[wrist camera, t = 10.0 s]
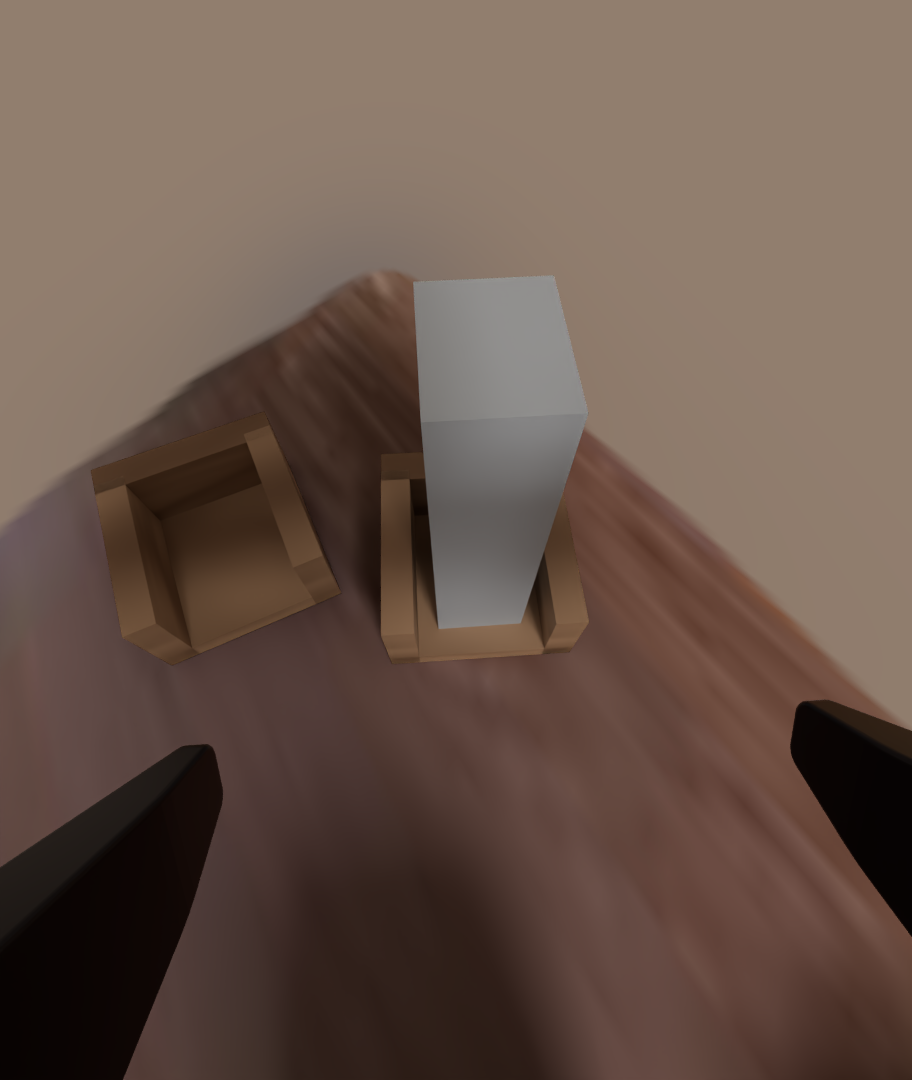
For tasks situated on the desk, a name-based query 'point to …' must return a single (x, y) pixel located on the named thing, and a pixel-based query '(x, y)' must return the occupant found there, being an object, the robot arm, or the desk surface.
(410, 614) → the end cap
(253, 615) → the end cap
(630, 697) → the desk surface
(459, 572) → the slat
